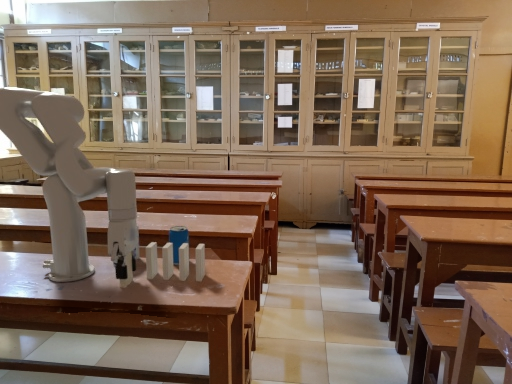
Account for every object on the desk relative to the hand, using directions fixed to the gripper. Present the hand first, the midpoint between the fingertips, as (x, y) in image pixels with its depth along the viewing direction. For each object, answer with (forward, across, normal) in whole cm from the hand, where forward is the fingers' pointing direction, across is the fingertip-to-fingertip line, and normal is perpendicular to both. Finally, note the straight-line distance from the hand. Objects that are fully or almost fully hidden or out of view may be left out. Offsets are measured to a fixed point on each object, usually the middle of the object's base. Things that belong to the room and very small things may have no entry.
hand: (126, 274), depth 101 cm
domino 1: (+3, 0, 0) cm, 3 cm away
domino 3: (+3, -6, +10) cm, 12 cm away
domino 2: (+3, -6, +6) cm, 9 cm away
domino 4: (+3, -6, +16) cm, 17 cm away
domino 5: (+3, -6, +20) cm, 22 cm away
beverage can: (+3, -18, +10) cm, 21 cm away
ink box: (+3, -17, -8) cm, 19 cm away
